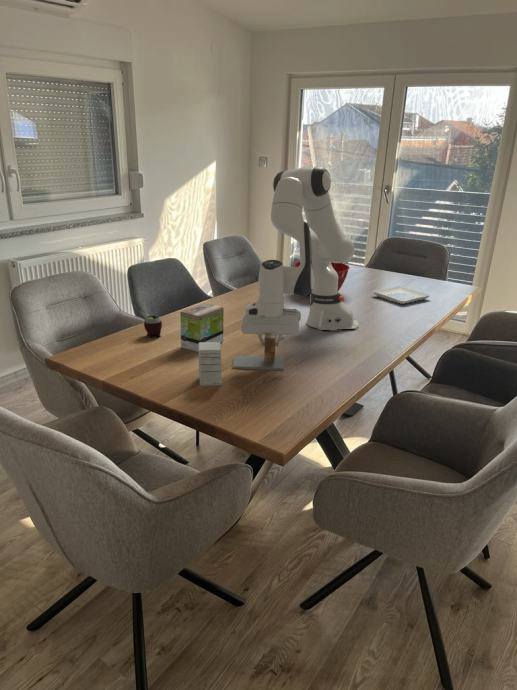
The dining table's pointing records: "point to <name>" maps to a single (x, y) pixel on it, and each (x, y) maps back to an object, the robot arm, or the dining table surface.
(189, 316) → the tea box
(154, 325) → the mate gourd
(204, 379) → the supplement box
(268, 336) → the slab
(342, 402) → the dining table surface
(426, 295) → the salad plate
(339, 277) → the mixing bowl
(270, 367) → the mat
